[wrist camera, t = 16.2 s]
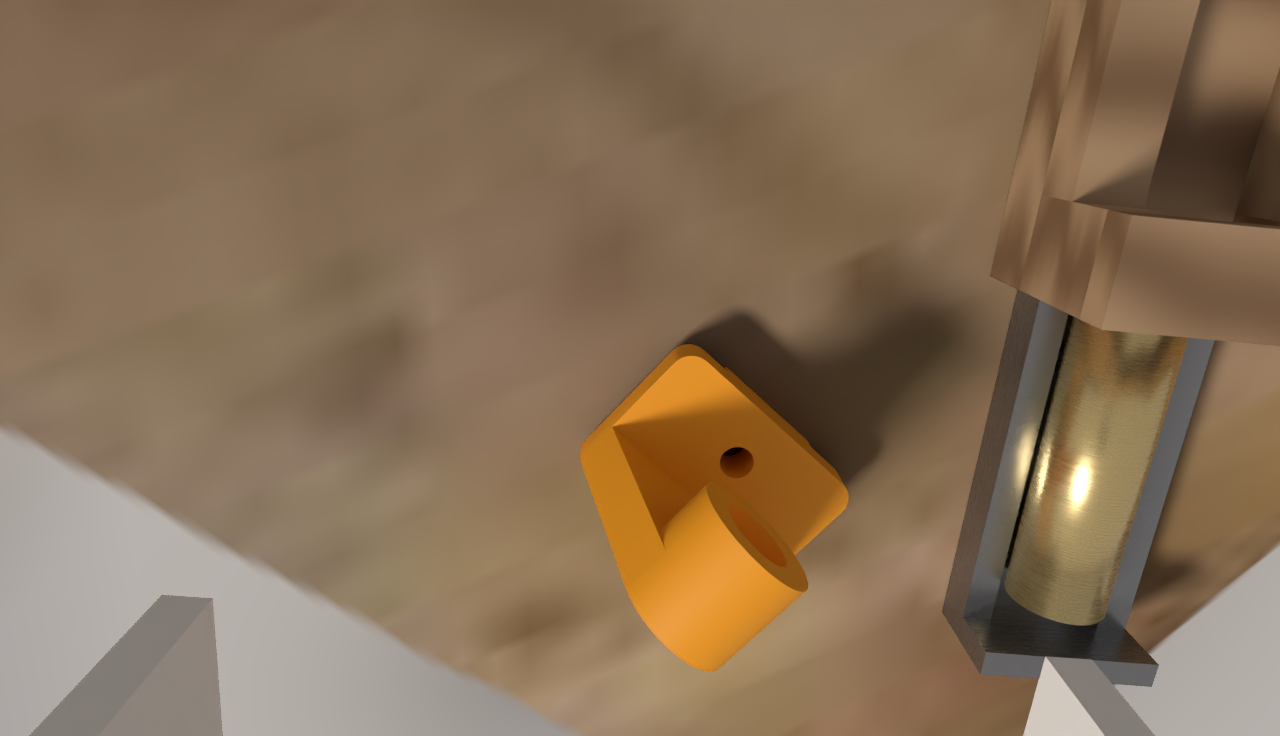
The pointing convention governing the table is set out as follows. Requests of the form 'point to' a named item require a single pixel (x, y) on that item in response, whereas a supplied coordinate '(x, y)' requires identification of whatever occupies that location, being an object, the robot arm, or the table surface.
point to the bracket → (707, 505)
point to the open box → (1152, 169)
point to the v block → (997, 498)
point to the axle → (1091, 470)
